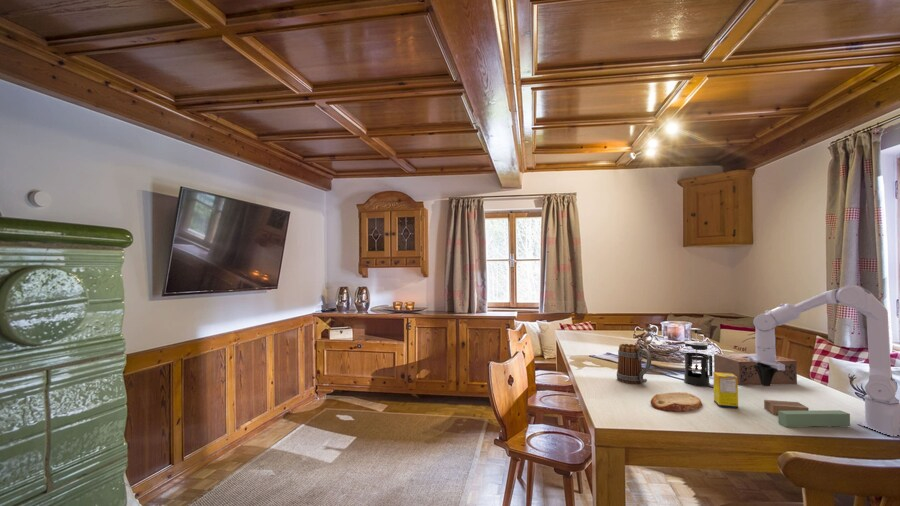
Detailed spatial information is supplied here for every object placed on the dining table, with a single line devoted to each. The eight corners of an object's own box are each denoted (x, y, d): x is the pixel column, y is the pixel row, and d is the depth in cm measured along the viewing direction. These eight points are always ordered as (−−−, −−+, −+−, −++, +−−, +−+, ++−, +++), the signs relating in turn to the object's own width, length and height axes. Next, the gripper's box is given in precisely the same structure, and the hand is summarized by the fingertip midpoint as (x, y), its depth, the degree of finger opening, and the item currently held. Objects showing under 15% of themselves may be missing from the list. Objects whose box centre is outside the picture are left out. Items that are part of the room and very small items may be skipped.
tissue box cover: (768, 375, 187) (767, 353, 188) (797, 384, 173) (796, 360, 173) (714, 376, 185) (713, 354, 186) (739, 385, 171) (738, 361, 171)
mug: (611, 378, 180) (610, 344, 180) (628, 376, 184) (628, 342, 185) (641, 388, 166) (640, 351, 166) (659, 385, 170) (659, 349, 171)
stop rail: (850, 426, 127) (849, 413, 127) (786, 427, 127) (786, 414, 127) (840, 423, 130) (840, 410, 130) (778, 423, 130) (778, 410, 130)
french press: (691, 386, 169) (690, 330, 169) (677, 380, 178) (677, 326, 179) (719, 386, 169) (718, 330, 170) (704, 379, 179) (703, 326, 179)
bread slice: (696, 399, 154) (696, 389, 154) (712, 416, 136) (712, 405, 136) (644, 395, 159) (644, 385, 159) (653, 411, 141) (653, 400, 141)
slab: (808, 418, 135) (808, 407, 135) (773, 415, 137) (773, 405, 137) (798, 412, 140) (797, 402, 141) (764, 409, 143) (764, 399, 143)
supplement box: (732, 403, 148) (731, 372, 149) (738, 408, 143) (738, 377, 143) (713, 401, 150) (712, 371, 150) (718, 407, 144) (718, 375, 145)
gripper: (739, 343, 155) (740, 379, 154) (770, 351, 140) (771, 391, 140) (758, 343, 155) (758, 379, 155) (790, 351, 140) (791, 391, 140)
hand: (765, 385), depth 147 cm, fingers closed
